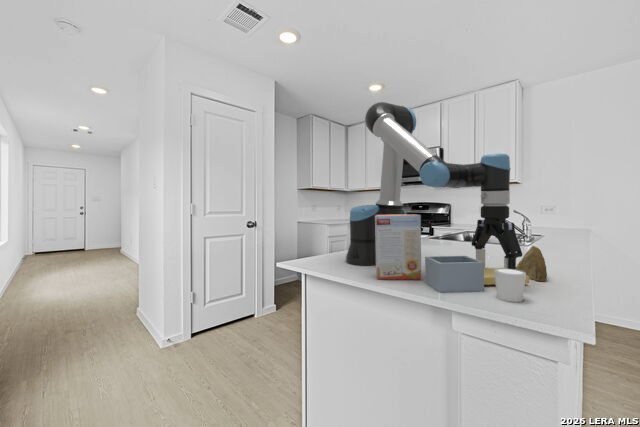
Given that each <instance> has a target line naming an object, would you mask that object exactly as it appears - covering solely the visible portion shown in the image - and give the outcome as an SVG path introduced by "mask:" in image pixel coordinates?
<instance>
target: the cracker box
mask: <svg viewBox="0 0 640 427" xmlns="http://www.w3.org/2000/svg"><path fill="white" fill-rule="evenodd" d="M421 219H422V215H421V214H417V213H412V214H411V213H410V214H408V213H406V214H389V215H375V245H376V265H375V275H376V279H377V280H413V281H414V280H418V281H419V280H422V230H421V228H422V226H421V224H422V220H421Z"/></svg>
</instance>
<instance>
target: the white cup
mask: <svg viewBox="0 0 640 427" xmlns="http://www.w3.org/2000/svg"><path fill="white" fill-rule="evenodd" d="M494 271H495V282H496V285H495V290H496V292H495V293H496V297H497V298H498V299H499V300H502V301H506V302H510V303H511V302H512V303H514V302H515V303H521V302H523V301H524V300H523V299H524V292H525V286H526V283H525V279H526V273H525V272H523V271H520V270H514V269H495V270H494Z"/></svg>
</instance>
